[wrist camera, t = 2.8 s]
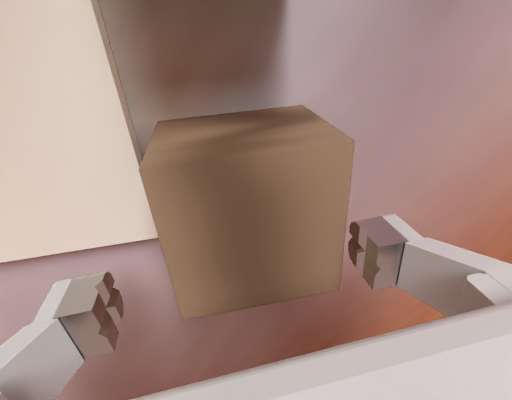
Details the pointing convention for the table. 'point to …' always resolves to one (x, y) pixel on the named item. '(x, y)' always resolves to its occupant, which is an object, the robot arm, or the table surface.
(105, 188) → the white flat board
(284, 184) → the walnut cube
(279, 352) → the table surface
